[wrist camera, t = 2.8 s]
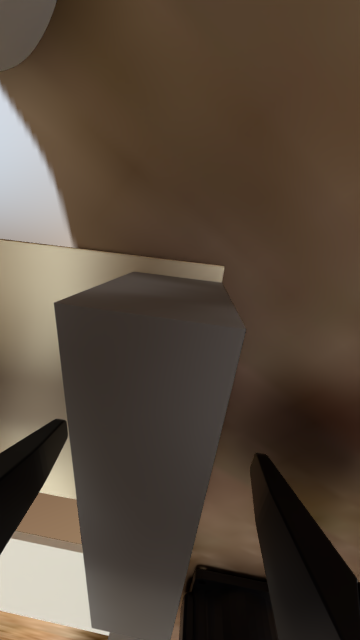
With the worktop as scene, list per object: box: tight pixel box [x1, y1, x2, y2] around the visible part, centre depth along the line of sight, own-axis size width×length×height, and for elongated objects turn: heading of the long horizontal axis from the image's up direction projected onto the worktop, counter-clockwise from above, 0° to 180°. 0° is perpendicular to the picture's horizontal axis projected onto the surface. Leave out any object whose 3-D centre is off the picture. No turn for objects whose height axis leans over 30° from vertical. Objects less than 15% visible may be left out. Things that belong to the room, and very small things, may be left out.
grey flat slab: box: [0, 531, 142, 640], centre depth 15 cm, size 20×14×4 cm
